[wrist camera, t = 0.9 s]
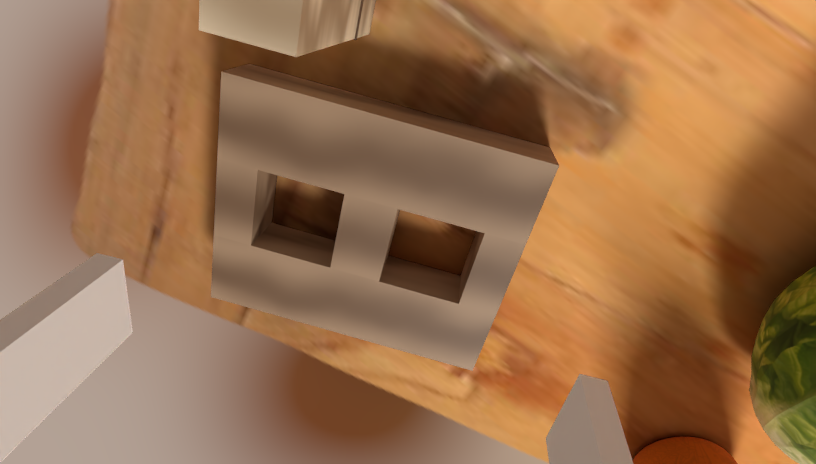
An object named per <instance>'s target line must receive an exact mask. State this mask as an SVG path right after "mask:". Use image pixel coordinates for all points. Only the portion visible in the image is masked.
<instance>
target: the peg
mask: <svg viewBox="0 0 816 464" xmlns="http://www.w3.org/2000/svg"><path fill="white" fill-rule="evenodd" d="M375 2H376V0H200V2H199V30H200V31H204V32H207V33H211V34H215V35H218V36H222V37H225V38H229V39H233V40H236V41H240V42H243V43H247V44H250V45H254V46H258V47H261V48H265V49H268V50H272V51H276V52H279V53H283V54H286V55H290V56H294V57H298V56H302V55H305V54H308V53H311V52H314V51H317V50H321V49H324V48H327V47H330V46H333V45H337V44H340V43H343V42H346V41H349V40H357V38H359V37H362V36H365V35H368V34H370V28H371V23H372V18H373V12H374V7H375Z"/></svg>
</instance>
